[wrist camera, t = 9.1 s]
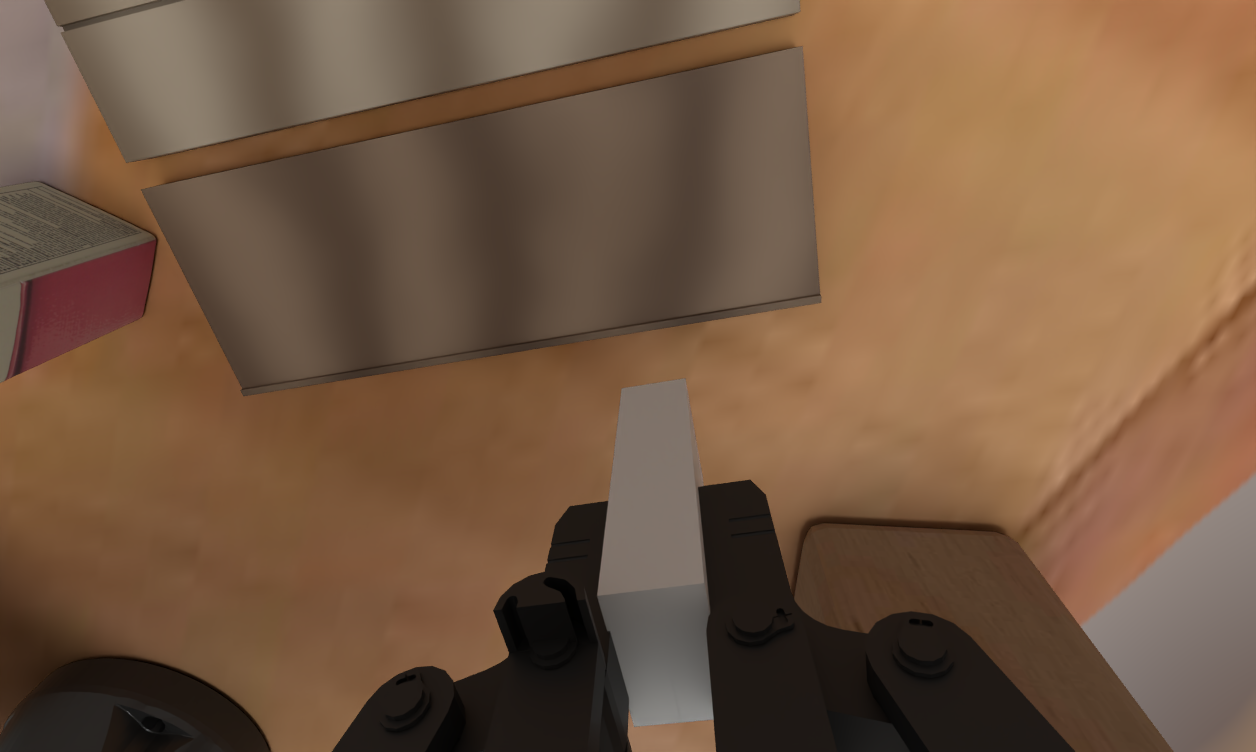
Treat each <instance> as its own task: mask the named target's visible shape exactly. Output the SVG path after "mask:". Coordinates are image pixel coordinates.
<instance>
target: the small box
mask: <svg viewBox="0 0 1256 752" xmlns="http://www.w3.org/2000/svg"><path fill="white" fill-rule="evenodd" d="M155 246H156V238H155V237H154V236H153V235H152V234H150V233H148V232H146V231H144V230H142V229H140V228H138V227H136V226H134V225H132V224H130V223H128V222H126V221H123V220H121V219H119V218H117V217H115V216H113V215H111V214H108V213H106V212H104V211H102V210H100V209H98V208H95V207H93V206H91V205H89V204H87V203H85V202H82V201H80V200H78V199H76V198H74V197H72V196H70V195H67V194H65V193H63V192H60V191H58V190H56V189H54V188H51V187H49V186H47V185H45V184H43V183H40V182H29V183H23V184H17V185H11V186H5V187H0V383H1V382H3V381H5V380H7V379H9V378H11V377H13V376H15V375H18V374H20V373H22V372H24V371H27V370H29V369H31V368H33V367H35V366H38V365H40V364H42V363H44V362H46V361H48V360H51V359H53V358H55V357H57V356H59V355H61V354H64V353H66V352H68V351H70V350H73V349H75V348H77V347H79V346H81V345H84V344H86V343H88V342H90V341H92V340H94V339H97V338H99V337H101V336H103V335H105V334H108V333H110V332H112V331H114V330H116V329H118V328H120V327H123V326H125V325H127V324H129V323H132V322H134V321H136V320H138V319H140V318H141V317H142V315H143V312H144V306H145V302H146V297H147V292H148V287H149V282H150V277H151V271H152V265H153V259H154V252H155Z"/></svg>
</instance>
